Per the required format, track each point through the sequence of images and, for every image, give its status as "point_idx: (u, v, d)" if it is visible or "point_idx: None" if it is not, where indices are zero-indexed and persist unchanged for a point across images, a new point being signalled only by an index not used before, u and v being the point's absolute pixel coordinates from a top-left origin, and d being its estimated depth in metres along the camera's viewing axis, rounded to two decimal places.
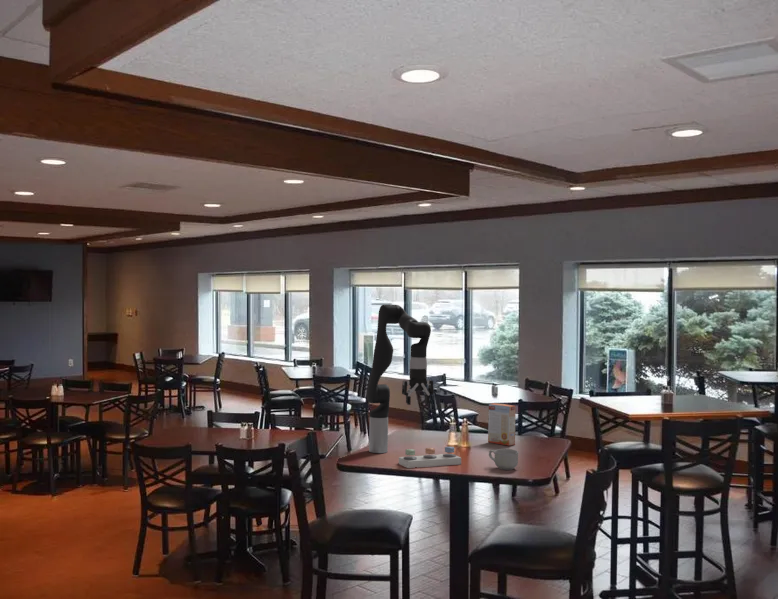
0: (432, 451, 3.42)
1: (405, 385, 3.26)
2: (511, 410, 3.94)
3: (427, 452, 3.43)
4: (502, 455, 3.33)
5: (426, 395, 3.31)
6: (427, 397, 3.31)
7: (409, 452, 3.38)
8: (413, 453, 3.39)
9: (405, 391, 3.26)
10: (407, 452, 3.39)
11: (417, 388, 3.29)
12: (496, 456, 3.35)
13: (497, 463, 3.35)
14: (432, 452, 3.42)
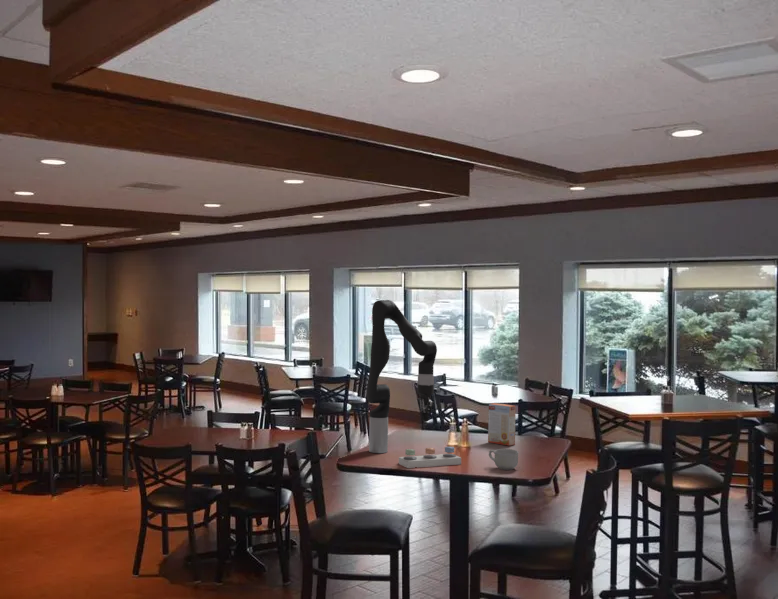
0: (432, 451, 3.42)
1: None
2: (511, 410, 3.94)
3: (427, 452, 3.43)
4: (502, 455, 3.33)
5: None
6: None
7: (409, 452, 3.38)
8: (413, 453, 3.39)
9: None
10: (407, 452, 3.39)
11: None
12: (496, 456, 3.35)
13: (497, 463, 3.35)
14: (432, 452, 3.42)
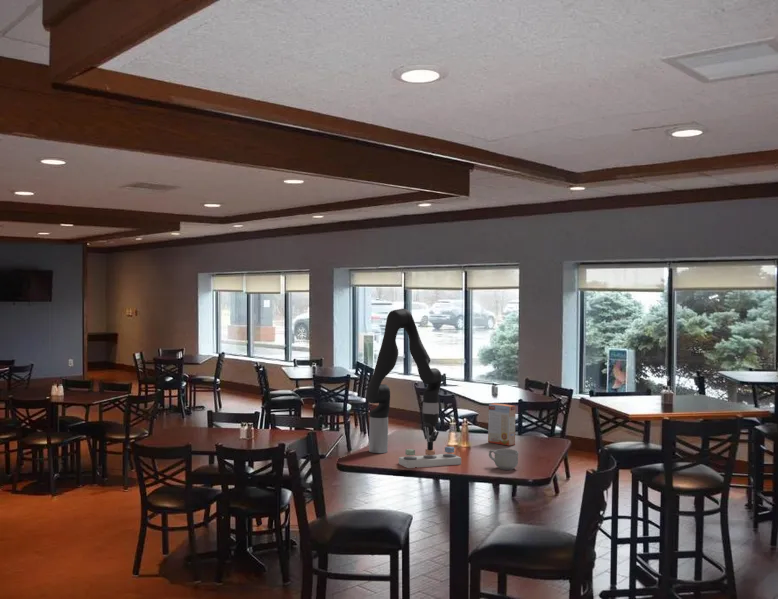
0: (432, 452, 3.42)
1: None
2: (511, 410, 3.94)
3: (427, 453, 3.43)
4: (502, 455, 3.33)
5: None
6: None
7: (409, 452, 3.38)
8: (413, 453, 3.39)
9: None
10: (407, 452, 3.39)
11: None
12: (496, 456, 3.35)
13: (497, 463, 3.35)
14: (432, 453, 3.42)
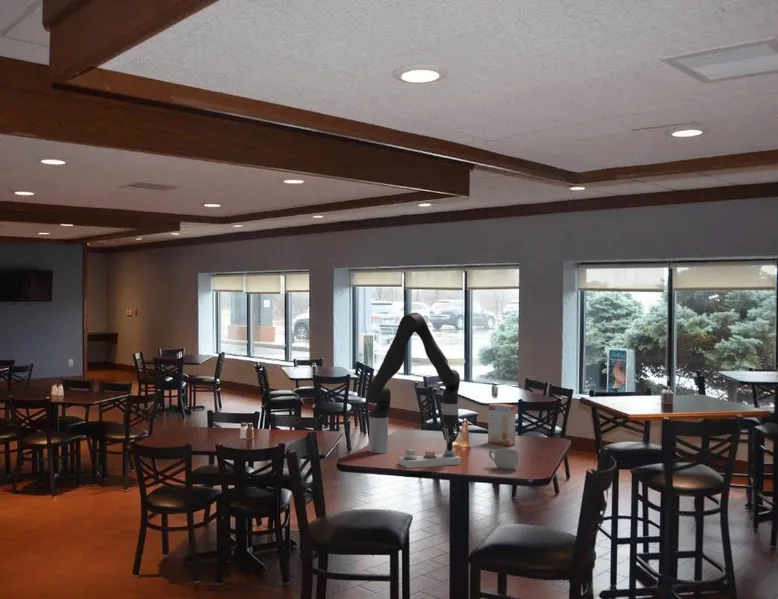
0: (432, 454, 3.42)
1: None
2: (511, 410, 3.94)
3: (427, 455, 3.43)
4: (502, 455, 3.33)
5: None
6: None
7: (409, 452, 3.38)
8: (413, 453, 3.39)
9: None
10: (407, 452, 3.39)
11: None
12: (496, 456, 3.35)
13: (497, 463, 3.35)
14: (432, 455, 3.42)
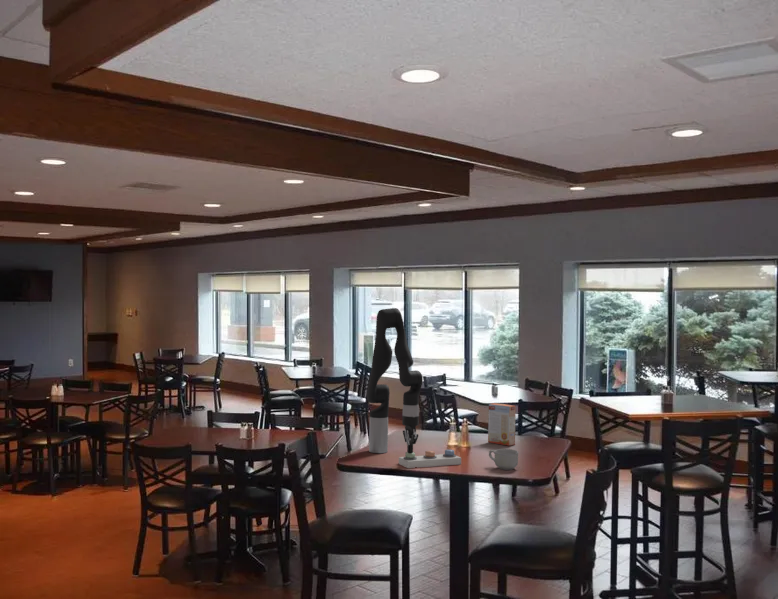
0: (432, 454, 3.42)
1: None
2: (511, 410, 3.94)
3: (427, 455, 3.43)
4: (502, 455, 3.33)
5: None
6: None
7: (409, 455, 3.38)
8: (413, 456, 3.39)
9: None
10: (407, 455, 3.39)
11: None
12: (496, 456, 3.35)
13: (497, 463, 3.35)
14: (432, 455, 3.42)
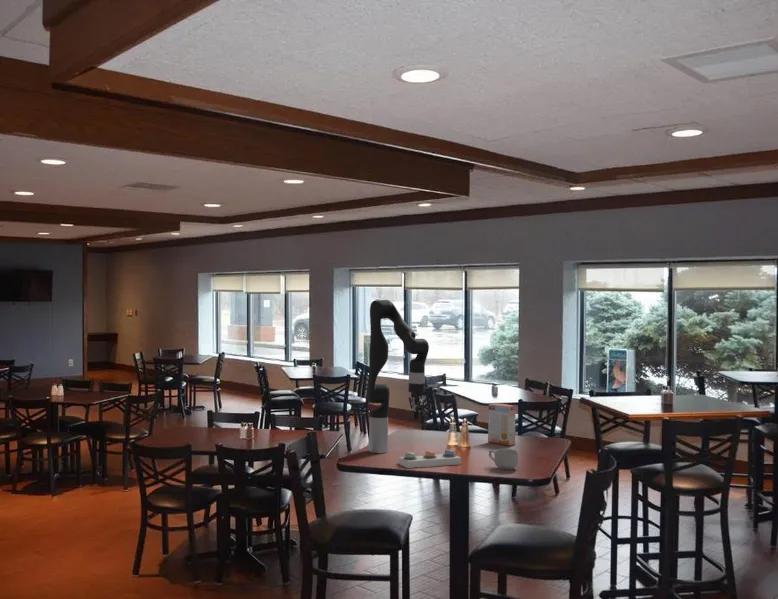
0: (432, 454, 3.42)
1: None
2: (511, 410, 3.94)
3: (427, 455, 3.43)
4: (502, 455, 3.33)
5: None
6: None
7: (409, 455, 3.38)
8: (413, 456, 3.39)
9: None
10: (407, 455, 3.39)
11: None
12: (496, 456, 3.35)
13: (497, 463, 3.35)
14: (432, 455, 3.42)
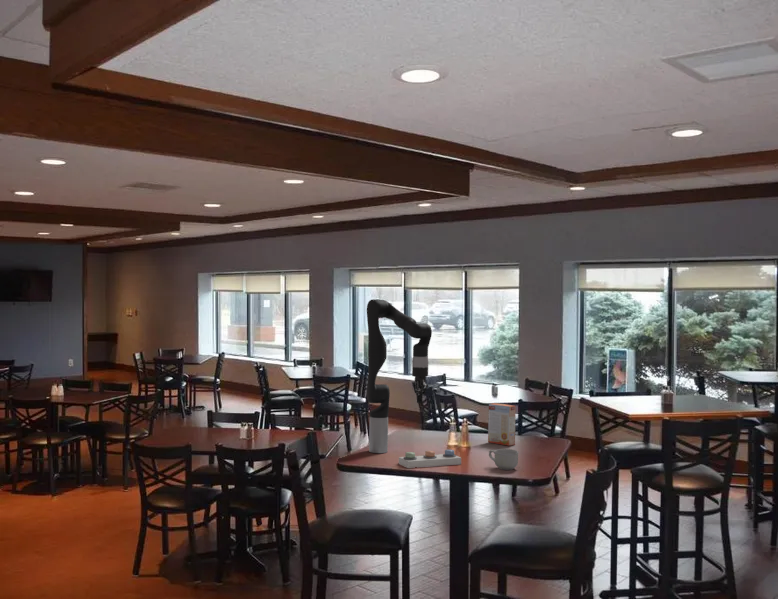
0: (432, 454, 3.42)
1: None
2: (511, 410, 3.94)
3: (427, 455, 3.43)
4: (502, 455, 3.33)
5: None
6: None
7: (409, 455, 3.38)
8: (413, 456, 3.39)
9: None
10: (407, 455, 3.39)
11: None
12: (496, 456, 3.35)
13: (497, 463, 3.35)
14: (432, 455, 3.42)
